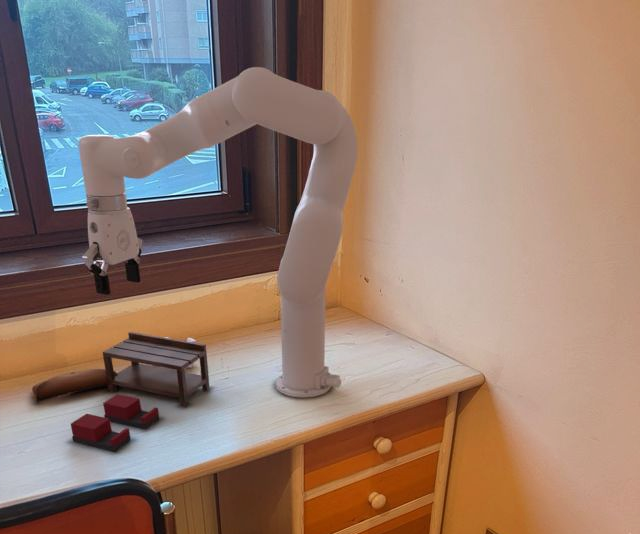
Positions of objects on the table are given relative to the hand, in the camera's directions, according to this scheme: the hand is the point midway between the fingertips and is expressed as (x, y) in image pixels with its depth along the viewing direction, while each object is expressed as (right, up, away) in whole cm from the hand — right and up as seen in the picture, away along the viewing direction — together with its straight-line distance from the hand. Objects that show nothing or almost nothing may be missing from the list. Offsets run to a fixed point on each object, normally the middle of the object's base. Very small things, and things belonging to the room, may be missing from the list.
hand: (119, 287), depth 136 cm
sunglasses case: (-12, -21, +8) cm, 26 cm away
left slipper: (0, -32, -12) cm, 34 cm away
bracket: (+5, -14, +23) cm, 27 cm away
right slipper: (+4, -28, -4) cm, 29 cm away
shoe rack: (+6, -21, +8) cm, 24 cm away
